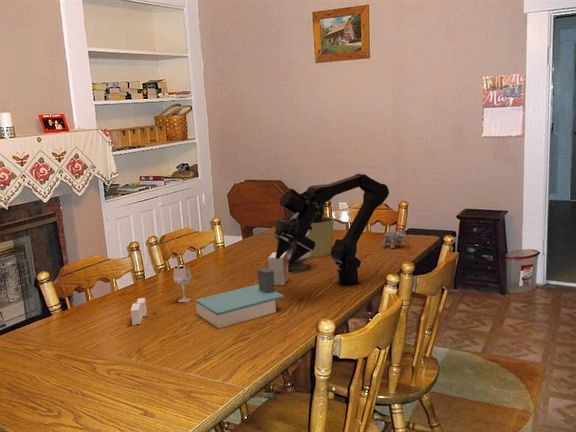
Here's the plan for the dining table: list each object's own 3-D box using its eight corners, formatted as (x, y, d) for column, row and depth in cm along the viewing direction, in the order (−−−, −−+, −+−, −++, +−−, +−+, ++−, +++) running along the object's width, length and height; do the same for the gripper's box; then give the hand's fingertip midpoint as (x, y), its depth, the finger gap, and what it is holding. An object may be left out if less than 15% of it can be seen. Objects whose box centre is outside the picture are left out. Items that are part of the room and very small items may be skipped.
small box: (284, 285, 211) (282, 257, 209) (269, 285, 212) (267, 257, 210) (289, 278, 218) (287, 251, 216) (274, 279, 219) (272, 251, 217)
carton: (251, 299, 197) (250, 288, 197) (275, 312, 184) (275, 300, 183) (197, 314, 187) (195, 302, 186) (218, 328, 174) (217, 315, 173)
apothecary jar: (276, 272, 228) (273, 227, 225) (288, 263, 239) (285, 220, 236) (305, 273, 224) (302, 227, 220) (316, 264, 235) (313, 221, 231)
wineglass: (195, 298, 203) (192, 264, 201) (187, 303, 198) (184, 269, 195) (181, 297, 205) (177, 264, 203) (173, 302, 200) (169, 269, 197)
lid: (259, 294, 199) (257, 264, 197) (284, 306, 186) (282, 274, 184) (196, 310, 187) (193, 278, 185) (218, 324, 174) (215, 290, 172)
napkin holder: (138, 330, 178) (136, 312, 177) (111, 325, 184) (109, 308, 182) (170, 313, 191) (169, 296, 190) (144, 309, 196) (142, 293, 195)
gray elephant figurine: (388, 244, 261) (386, 228, 259) (414, 245, 254) (412, 228, 253) (380, 250, 253) (378, 232, 252) (407, 250, 247) (405, 233, 245)
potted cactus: (342, 250, 255) (338, 182, 249) (325, 259, 242) (321, 187, 236) (311, 247, 263) (307, 181, 257) (293, 256, 250) (289, 187, 245)
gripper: (273, 205, 201) (252, 246, 199) (300, 212, 185) (277, 256, 183) (297, 220, 206) (277, 259, 204) (325, 228, 190) (303, 271, 188)
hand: (283, 261), depth 195 cm, fingers open, 9 cm apart
